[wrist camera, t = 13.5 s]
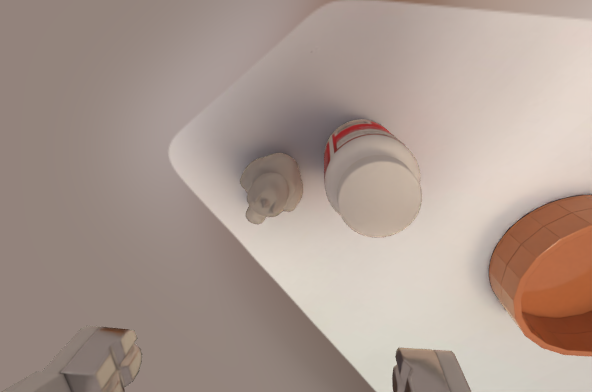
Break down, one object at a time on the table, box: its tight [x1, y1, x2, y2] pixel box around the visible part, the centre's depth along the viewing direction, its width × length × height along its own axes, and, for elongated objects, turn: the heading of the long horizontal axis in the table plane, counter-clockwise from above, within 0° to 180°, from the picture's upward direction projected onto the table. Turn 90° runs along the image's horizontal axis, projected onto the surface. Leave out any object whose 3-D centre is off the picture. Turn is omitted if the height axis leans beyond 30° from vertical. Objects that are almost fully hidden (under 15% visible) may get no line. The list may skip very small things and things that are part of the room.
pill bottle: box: [324, 119, 422, 237], centre depth 22 cm, size 6×6×11 cm
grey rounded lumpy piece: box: [240, 153, 303, 224], centre depth 26 cm, size 5×7×8 cm
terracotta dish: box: [489, 195, 592, 356], centre depth 28 cm, size 14×14×4 cm
